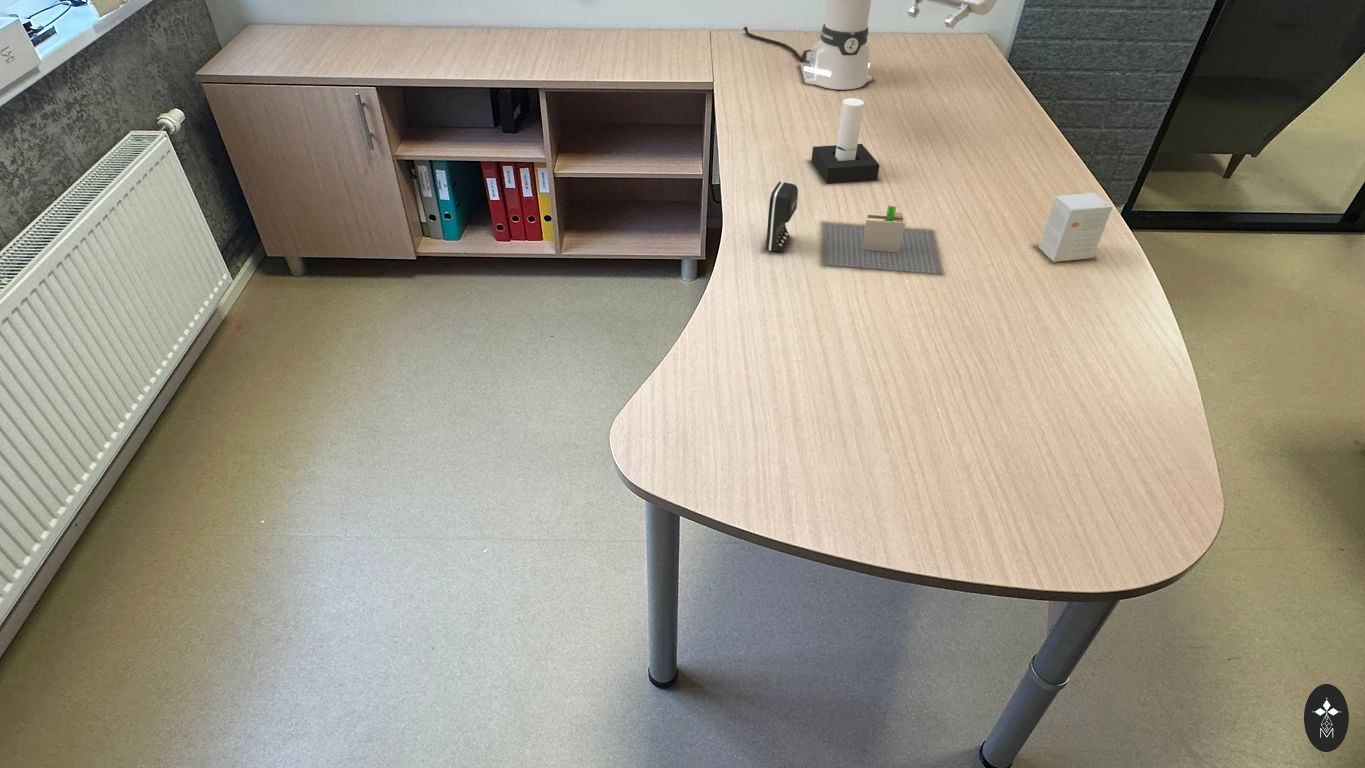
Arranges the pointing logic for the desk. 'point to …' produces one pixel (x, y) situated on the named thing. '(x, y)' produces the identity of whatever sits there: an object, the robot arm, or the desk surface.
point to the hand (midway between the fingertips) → (929, 20)
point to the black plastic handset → (780, 215)
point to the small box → (1074, 226)
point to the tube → (849, 129)
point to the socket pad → (844, 165)
